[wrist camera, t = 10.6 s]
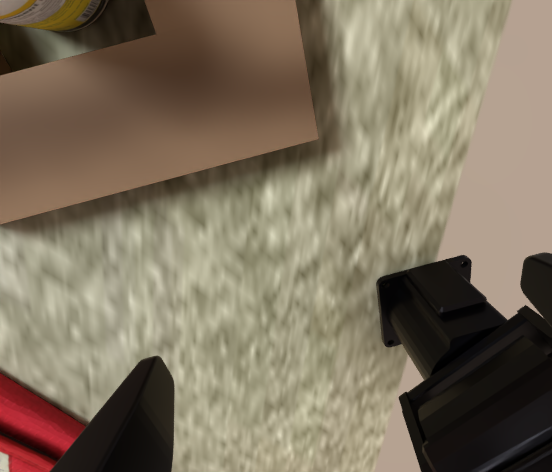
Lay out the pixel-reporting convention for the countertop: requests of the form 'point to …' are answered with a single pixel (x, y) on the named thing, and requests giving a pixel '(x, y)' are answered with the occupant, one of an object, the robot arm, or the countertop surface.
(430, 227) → the countertop surface
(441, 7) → the countertop surface
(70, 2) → the supplement bottle
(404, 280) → the robot arm
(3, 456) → the red folded cloth
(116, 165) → the socket board
